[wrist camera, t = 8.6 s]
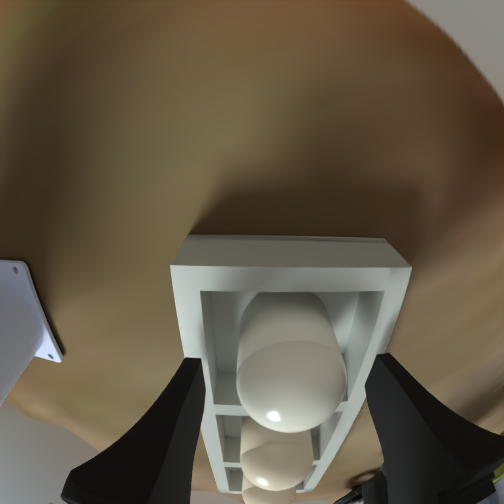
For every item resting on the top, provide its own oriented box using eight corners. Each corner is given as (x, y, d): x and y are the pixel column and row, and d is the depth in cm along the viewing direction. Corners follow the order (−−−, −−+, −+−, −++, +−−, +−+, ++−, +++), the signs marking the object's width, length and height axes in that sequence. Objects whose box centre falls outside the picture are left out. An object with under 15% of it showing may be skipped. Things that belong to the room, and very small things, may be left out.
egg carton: (221, 468, 23) (217, 520, 17) (187, 234, 13) (137, 325, 7) (309, 467, 23) (314, 519, 17) (383, 238, 13) (457, 319, 7)
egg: (240, 356, 15) (235, 450, 10) (239, 286, 13) (230, 388, 8) (321, 355, 15) (341, 445, 10) (334, 287, 13) (373, 382, 8)
